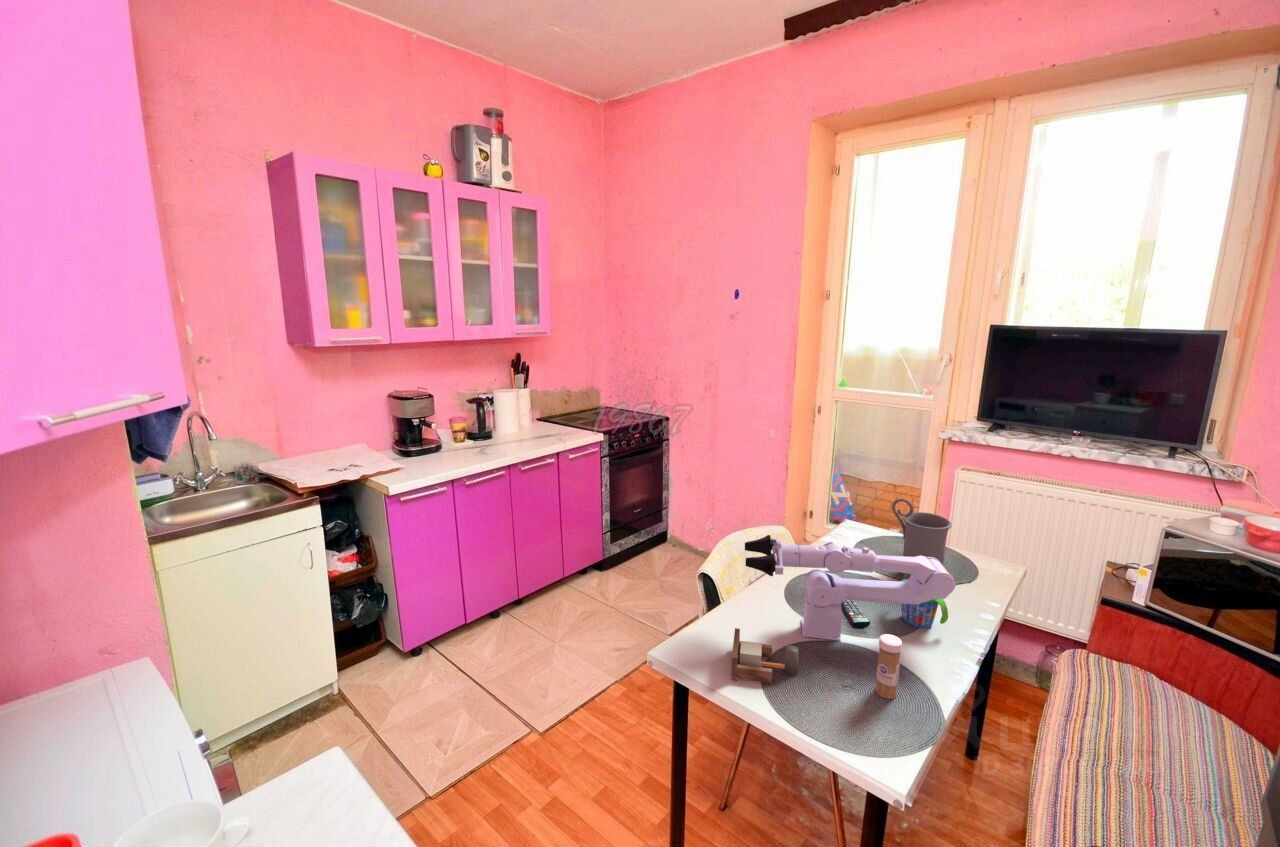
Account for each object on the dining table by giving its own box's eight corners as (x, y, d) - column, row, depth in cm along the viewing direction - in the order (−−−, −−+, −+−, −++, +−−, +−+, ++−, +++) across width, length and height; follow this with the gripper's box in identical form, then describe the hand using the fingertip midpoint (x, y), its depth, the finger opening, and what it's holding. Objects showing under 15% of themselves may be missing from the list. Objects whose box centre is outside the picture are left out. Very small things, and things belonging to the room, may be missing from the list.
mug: (954, 574, 173) (962, 501, 168) (947, 594, 162) (956, 516, 157) (892, 559, 184) (897, 490, 179) (881, 577, 173) (887, 503, 168)
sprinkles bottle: (872, 693, 120) (876, 640, 118) (878, 683, 124) (883, 630, 121) (894, 703, 118) (899, 648, 115) (899, 691, 121) (904, 638, 118)
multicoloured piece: (797, 665, 130) (798, 643, 129) (798, 679, 126) (799, 656, 124) (740, 658, 133) (741, 637, 132) (739, 671, 129) (739, 649, 127)
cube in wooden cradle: (771, 653, 135) (772, 632, 134) (771, 685, 124) (772, 662, 122) (734, 649, 137) (735, 628, 136) (731, 680, 126) (731, 657, 124)
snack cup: (880, 611, 153) (883, 578, 151) (908, 603, 157) (911, 571, 155) (926, 641, 139) (929, 605, 137) (956, 632, 142) (960, 597, 140)
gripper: (795, 528, 147) (744, 527, 149) (801, 558, 133) (746, 556, 135) (794, 550, 149) (744, 549, 151) (800, 582, 135) (745, 580, 138)
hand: (745, 554), depth 143 cm, fingers open, 7 cm apart
